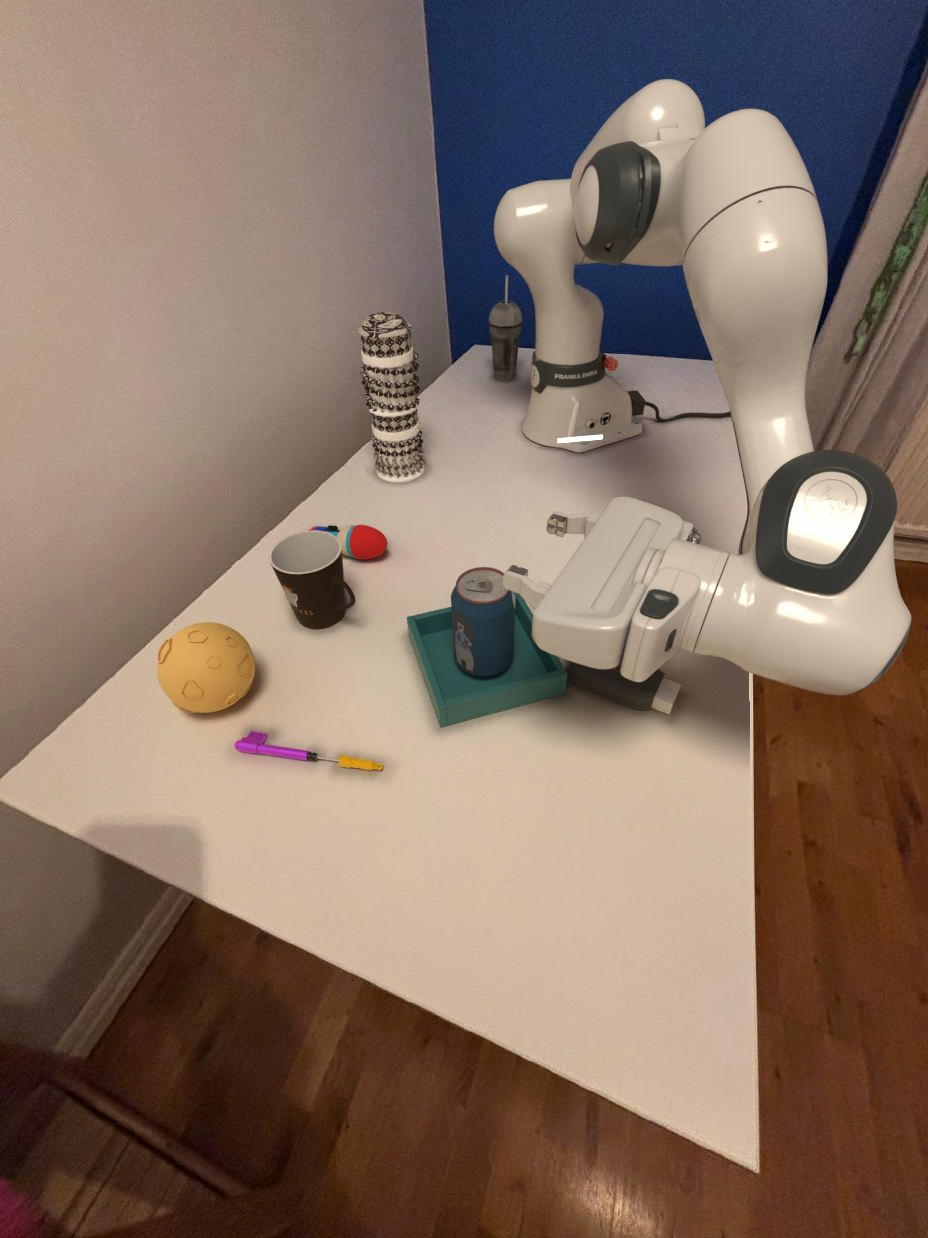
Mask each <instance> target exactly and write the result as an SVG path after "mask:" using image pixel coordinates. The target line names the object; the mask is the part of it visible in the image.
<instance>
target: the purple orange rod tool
mask: <svg viewBox="0 0 928 1238" xmlns="http://www.w3.org/2000/svg"><path fill="white" fill-rule="evenodd" d="M267 738H268V734H267V732H262V731H261V732H260V731H254V730H251V731H249V733H248V734H247V735H246V736H243V737H241V739H239V740H236V741H235V742H234V744H233V745H234V746H233V747H234V749H235V750H236V751H238V752H243V753H248V754H249V753H250V754H255V755H259V754H262V755H268V756H274V757H281V758H286V759H287V758H288V759H295V760H300V761H312V762H314V761H317V760H318V759H321V760H326V761H333V762H338V763H337V764H338V767H341V768H347V769H351V768H353V769H358V770H359V769H361V770H366V771H374V770H376V771H377V770H378V771H382V769H383V767H384V764H383V763H380V762H375V760H371V759H365V758H359V757H353V756H351V755H345V754H341V755H340V756H339V758H333V757H326V756H321V755H319V754H318V753H317V752H315V751H314V752H312V751H310V750H307V749H299V748H293V747H287V746H281V745H280V746H279V745H274V744H268V743H264V742H265V741H266V739H267Z"/></svg>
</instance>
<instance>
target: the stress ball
mask: <svg viewBox="0 0 928 1238" xmlns="http://www.w3.org/2000/svg"><path fill="white" fill-rule="evenodd" d="M156 663H157V664H156V674H157V680H158V683H159V685H160V688H161V689H162V691H163V693H164V694H165V696H166V697H167V698H168V699H169V700H170V701H171V703H172V704H173V705H174V707H176V708H177V709H178V710H180V711H183V712H185V713H189V714H193V715H194V714H196V713H201V714H204V713H206V714H207V713H214V712H219V711H222V710H224V709H228V708H229V707H231V706H232V705H234V704H236V703H238V701H240V700H241V699H242V698H245V697H246V696H247V694H248V693H249V691H250V690H251V688H252V687H251V685H252V683H253V681H254V678H255V672H256V661H255V655H254V651H253V649H252V647H251V645H250V644H249V642H248V640H246V638H245V637H244V636H243V635H242V634H240V632H238V630H236V629H234V628H233V627H230V626H228V625H226V624H223V623H219V622H212V621H204V622H197V623H193V624H190V625H186V626H185V627H182V628H181V629H178V631H176V632H174V633H173V634H172V635H171V636H170V637H169V638H167V639H165V640H164V642H163V643H162V644H161V646H160V648H159V649H158V651H157V662H156Z"/></svg>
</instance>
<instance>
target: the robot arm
mask: <svg viewBox="0 0 928 1238" xmlns="http://www.w3.org/2000/svg"><path fill="white" fill-rule="evenodd" d="M705 118H706V117H705V111H704V107H703V105H702V102H701V100H700V98H699V97H698V95H697V94H696V92H695V91H694V90H693V89H692V88H691V87H690V86H689V85H687V83H684V82H682V81H680V80H678V79H673V78H672V79H671V78H664V79H659V80H655V81H652V82H650V83H649V84H647V85H645V86H643V87H642V88H640V89H639V90H637V91H636V92H635V93H633V95H631V96H630V97H629V98H627V100H625V101H624V102H623V103H622V104H621V105H620V106H618V108H617V109H615V111H614V112H613V113H612V114H611V115H610V116H609V117H608V118H607V119H606V121H605V122H604V123H603V124H602V126H601V127H600V128H599V129H598V131H597V132H596V134H595V135H594V136H593V138H592V139H591V140H590V141H589V143H588V145H587V146H586V148H585V149H584V150H583V151H582V153H581V154H580V156H578V159H577V160H576V162H575V164H574V167H573V169H572V173H571V177H570V178H563V179H562V178H560V179H547V180H545V179H544V180H535V181H532V182H528V183H526V184H522V185H520V186H515V187H514V188H510V189H508V190H507V191H505V193H504V195H503V196H502V198H501V199H500V201H499V203H498V205H497V207H496V211H495V215H494V219H493V220H494V221H493V235H494V239H495V240H494V241H495V244H496V248H497V249H498V252H499V253H500V255H501V257H502V258H503V259H504V261H505V262H506V263H507V264H509V265H510V266H511V267H512V268H514V270H516V271H517V272H518V274H520V276H521V277H522V279H523V280H524V281H525V283H526V285H527V287H528V289H529V291H530V293H531V297H532V301H533V305H534V313H535V315H534V318H535V346H534V351H533V353H532V357H531V367H530V385H531V390H530V391H531V392H530V399H529V402H528V403H529V404H528V407H527V413H526V415H525V419H524V422H523V425H522V433H523V434H524V436H525V437H526V438H527V439H529V440H530V441H532V442H534V443H536V444H539V445H542V446H546V447H552V448H558V449H565V450H568V451H570V452H573V453H585V452H587V451H591V450H595V449H597V448H600V447H603V446H607V445H610V444H613V443H616V442H617V443H618V442H620V441H623V440H626V439H629V438H632V437H635V436H638V435H642V433H643V423H642V420H641V419H640V417H638V416H643V415H644V413H645V406H646V407H650V408H652V409H653V410H654V412H655V420H656V421H657V422H659V423H663V424H664V423H669V422H673V421H676V420H679V419H682V418H687V417H702V418H703V417H704V418H723V417H724V418H725V417H728V416H730V417H731V422H732V426H733V427H732V428H733V431H734V438H735V441H736V442H735V443H736V447H737V452H738V457H739V463H740V468H741V474H742V478H743V484H744V489H745V495H746V504H747V505H746V506H747V508H746V511H747V512H746V517H745V522H744V526H743V530H742V533H741V535H740V539H739V544H738V550H737V554H736V553H733V552H728V551H726V550H722V549H719V548H714V547H711V546H707V545H704V544H701V541H702V535H701V533H700V532H699V531H698V530H697V528H696V527H695V526H694V524H693V523H692V522H689V521H687V520H683V518H682V517H681V516H680V515H679V514H677V513H675V512H673V511H672V510H669V509H667V508H664V507H661V506H659V505H656V504H653V503H650V502H647V501H644V500H641V499H638V498H636V497H632V496H626V495H625V496H616V497H613V498H612V499H611V500H610V501H609V502H608V504H607V506H606V507H605V508H604V510H603V511H602V513H601V514H598V513H594V512H583V513H572V514H568V513H564V512H560V511H557V510H556V511H553V512H552V514H551V515H550V516H549V517H548V519H547V520H546V532H547V533H548V534H550V535H555V536H556V537H559V538H562V539H563V538H564V536H565V535H566V534H569V535H583V540H582V541H581V542H580V544H579V546H578V547H577V548H576V550H575V551H574V553H573V554H572V556H571V557H570V559H568V562H567V563H566V564H565V565H564V567H563V569H562V570H561V571H560V573H559V574H558V576H557V577H556V578H555V580H554V581H553V583H552V584H550V583H546V582H544V581H540V582H539V584H537V583H536V582H534V581H533V580H532V579H530V577H528V576H529V569H527V568H525V567H522V566H520V567H519V566H518V565H516V564H512V565H510V566H509V567H508V569H507V570H506V571H505V572H504V575H503V587H504V588H505V589H507V590H510V591H513V592H516V593H519V594H520V596H521V597H522V598H523V599H524V600H525V602H526V603H527V605H528V606H529V608H530V609H531V610H533V612H532V614H533V620H532V638H533V640H534V642H535V643H536V644H537V646H538V647H539V648H540V649H542V650H543V651H545V652H547V653H550V654H552V655H555V656H558V658H559V659H560V658H561V659H562V660H563V659H564V660H565V661H569V662H571V661H572V662H575V663H578V664H581V665H584V666H588V667H591V668H596V669H611V668H614V667H616V666H618V665H619V664H620V663H621V662H622V663H621V669H620V673H621V675H622V676H623V677H625V678H627V679H629V680H632V681H635V682H643V681H645V680H646V679H647V678H649V677H650V676H651V675H652V674H653V673H654V672H655V671H656V670H657V669H660V668H661V667H662V666H663V665H665V663H667V662H668V661H669V660H670V659H671V658H673V657H674V656H676V655H677V654H678V653H679V652H680V650H682V651H686V652H688V653H691V654H693V655H698V656H707V657H708V656H710V657H716V658H720V659H724V660H727V661H728V662H730V663H733V664H734V665H736V666H738V667H739V668H741V669H742V670H743V671H745V672H747V673H750V674H753V675H756V676H759V677H761V678H765V679H766V680H771V681H773V682H777V683H780V684H784V685H787V686H791V687H794V688H798V689H800V690H801V689H802V690H805V691H809V692H813V693H819V694H823V695H828V696H848V695H852V694H856V693H859V692H861V691H864V690H865V689H867V688H869V687H871V686H873V685H874V684H875V683H877V682H878V681H879V680H880V678H881V677H882V676H883V675H885V674H886V673H887V672H888V670H889V669H890V668H891V666H892V665H893V664H894V662H895V661H896V660H897V658H898V657H899V655H900V654H901V652H902V650H903V648H904V646H905V645H906V643H907V640H908V638H909V633H910V630H911V628H912V614H911V612H910V610H909V608H908V607H907V605H906V604H905V602H904V600H903V598H902V595H901V591H900V588H899V584H898V580H897V579H898V578H897V574H896V573H897V572H896V565H895V555H894V550H895V549H894V546H895V545H894V543H895V541H894V538H895V519H896V516H897V512H898V498H897V493H896V490H895V487H894V484H893V483H892V481H891V479H890V478H889V476H888V475H887V473H885V471H884V470H883V469H882V468H881V467H880V466H879V465H877V464H876V463H875V462H873V461H871V460H870V459H868V458H866V457H864V456H862V455H859V454H857V453H854V452H852V451H851V452H850V451H846V450H841V449H820V450H815V448H814V445H813V440H812V439H813V438H812V434H811V429H810V424H809V419H808V413H807V407H806V385H807V384H806V383H807V374H808V368H809V362H810V358H811V353H812V350H813V344H814V341H815V338H816V333H817V329H818V325H819V322H820V319H821V314H822V310H823V307H824V303H825V298H826V293H827V287H828V245H827V235H826V228H825V224H824V219H823V216H822V212H821V207H820V204H819V201H818V198H817V194H816V190H815V188H814V185H813V183H812V180H811V178H810V174H809V172H808V170H807V167H806V164H805V162H804V160H803V158H802V156H801V154H800V152H799V150H798V148H797V146H796V144H795V142H794V140H793V139H792V137H791V136H790V134H789V132H788V131H787V129H786V128H785V126H784V125H783V123H782V122H781V121H780V120H779V118H778V117H776V116H775V115H773V114H772V113H770V112H769V111H766V110H763V109H758V108H743V109H738V110H735V111H731V112H729V113H726V114H724V115H723V116H721V117H719V118H717V119H716V120H714V121H712V122H711V123H710V124H709V125H707V126H706V119H705ZM589 264H605V265H609V266H610V265H611V266H618V265H620V264H628V265H635V266H642V267H673V266H675V267H677V266H682V270H683V276H684V280H685V284H686V288H687V292H688V295H689V298H690V301H691V304H692V307H693V311H694V314H695V317H696V320H697V322H698V325H699V327H700V330H701V333H702V336H703V338H704V341H705V343H706V347H707V349H708V351H709V355H710V357H711V359H712V362H713V365H714V367H715V370H716V373H717V376H718V380H719V382H720V385H721V387H722V391H723V393H724V396H725V399H726V402H727V405H728V408H729V411H726V412H683V413H680V414H677V415H674V416H673V417H672V416H671V417H669V418H662V417H660V409H659V407H658V406H657V405H656V404H654V403H652V402H649V401H647V400H646V399H645V397H643V395H642V394H641V393H640V391H639V390H636V389H635V390H626V389H625V387H623V386H622V385H621V384H620V383H619V382H618V381H616V380H615V379H614V378H613V377H611V376H610V375H609V374H608V373H607V372H606V369H607V370H608V371H610V372H615V371H616V370H617V369H618V368H619V361H618V359H616V358H614V357H613V356H607V354H606V353H604V352H603V351H600V348H601V340H602V339H601V338H602V334H603V333H602V330H603V323H604V316H605V313H604V306H603V304H602V302H601V300H600V298H599V297H598V296H597V294H595V293H594V292H592V291H591V290H589V289H587V288H586V287H584V286H582V285H580V284H578V283H576V282H575V266H578V265H589Z"/></svg>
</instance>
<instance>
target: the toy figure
mask: <svg viewBox="0 0 928 1238" xmlns="http://www.w3.org/2000/svg"><path fill="white" fill-rule="evenodd" d="M310 530H317V531H324V532H328V533H330V534H333V535H334V536H336V537H337V538H338V539H339V540H340V542H341V545H342V555H344V556H349V557H351V558H353V559H354V558H355V559H357V560H370V559H374V558H377V557H379V556H381V555H382V554H384V552H386V550H387V549H388V539H387V537H386V535H385V534H384V533H383V532H381V530H379V529H377V528H376V527H373V526H370V525H366V524H356V525H355V524H350V525H346V526H344V527H342V528H341V529H339V527H338V526H337V525H333V524H332V525H331V524H329V525H327V526H317V525H316V526H312V527H311V528H310V529H308V531H310Z"/></svg>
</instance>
